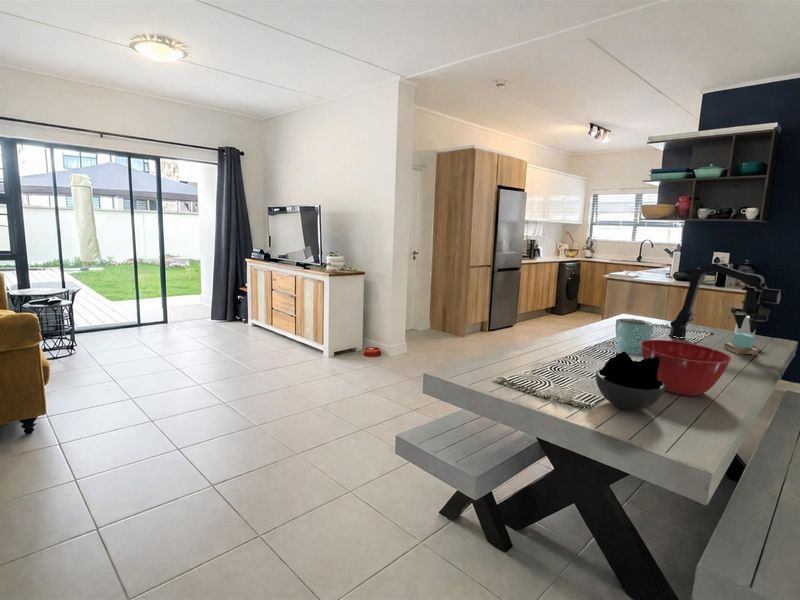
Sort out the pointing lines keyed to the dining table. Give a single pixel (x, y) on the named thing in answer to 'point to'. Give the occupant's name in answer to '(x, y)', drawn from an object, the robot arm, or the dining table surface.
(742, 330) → the skincare box
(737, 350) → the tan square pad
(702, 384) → the mixing bowl
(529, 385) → the dining table surface
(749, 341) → the teal block
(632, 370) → the coal bowl
